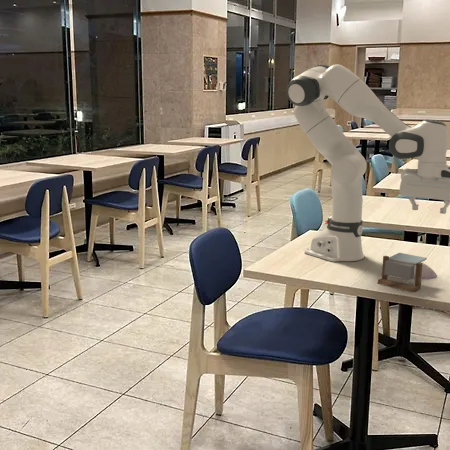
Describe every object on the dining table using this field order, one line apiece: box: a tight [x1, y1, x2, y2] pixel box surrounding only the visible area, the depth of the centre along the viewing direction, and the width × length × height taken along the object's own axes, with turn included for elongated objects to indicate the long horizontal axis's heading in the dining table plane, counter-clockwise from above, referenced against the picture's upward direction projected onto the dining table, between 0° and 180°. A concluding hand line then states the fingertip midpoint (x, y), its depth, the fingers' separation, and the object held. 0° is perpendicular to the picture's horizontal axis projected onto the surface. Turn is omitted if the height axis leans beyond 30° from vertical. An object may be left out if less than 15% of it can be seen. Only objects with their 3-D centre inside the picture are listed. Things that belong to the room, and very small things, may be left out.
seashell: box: [413, 262, 437, 280], centre depth 196 cm, size 10×6×10 cm
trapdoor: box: [384, 252, 427, 281], centre depth 186 cm, size 9×11×5 cm
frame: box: [377, 255, 423, 293], centre depth 184 cm, size 13×4×8 cm, turn 49°
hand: (428, 211), depth 191 cm, fingers open, 8 cm apart
